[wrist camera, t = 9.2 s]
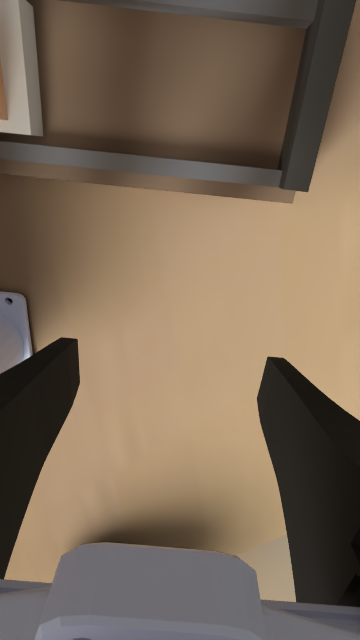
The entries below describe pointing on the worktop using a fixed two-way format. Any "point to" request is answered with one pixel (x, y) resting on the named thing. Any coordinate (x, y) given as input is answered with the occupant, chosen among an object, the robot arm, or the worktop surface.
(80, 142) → the rail board
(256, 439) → the worktop surface
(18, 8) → the block
